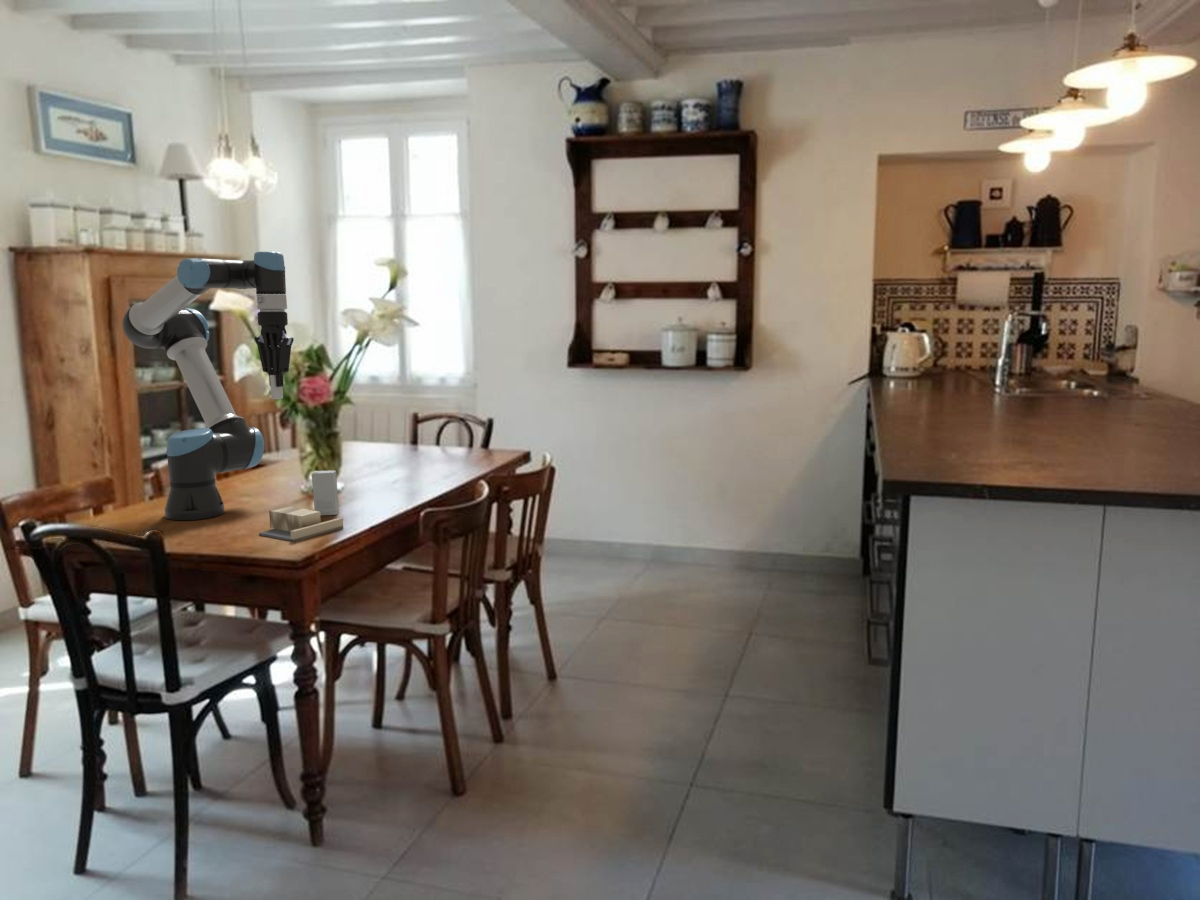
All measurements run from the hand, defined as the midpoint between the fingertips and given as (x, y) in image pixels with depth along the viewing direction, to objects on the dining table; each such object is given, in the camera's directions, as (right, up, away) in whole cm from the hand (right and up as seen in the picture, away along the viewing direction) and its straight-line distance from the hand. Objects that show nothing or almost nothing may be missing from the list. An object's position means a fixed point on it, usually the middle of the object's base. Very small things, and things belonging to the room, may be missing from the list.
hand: (277, 398), depth 246 cm
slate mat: (+11, -35, -13) cm, 39 cm away
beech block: (+4, -31, -9) cm, 33 cm away
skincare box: (+11, -32, +7) cm, 35 cm away
